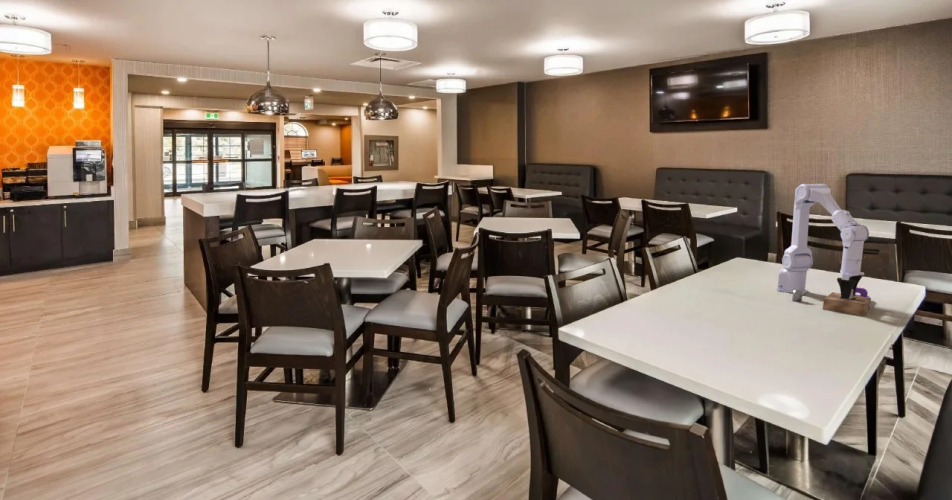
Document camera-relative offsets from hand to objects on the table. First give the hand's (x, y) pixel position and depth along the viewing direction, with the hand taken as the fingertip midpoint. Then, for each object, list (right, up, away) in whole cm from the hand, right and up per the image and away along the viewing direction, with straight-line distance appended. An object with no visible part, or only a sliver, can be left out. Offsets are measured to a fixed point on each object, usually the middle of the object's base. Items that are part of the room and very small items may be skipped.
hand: (847, 296), depth 198 cm
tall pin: (0, -5, +1) cm, 5 cm away
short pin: (-11, -3, +12) cm, 17 cm away
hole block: (0, -5, +1) cm, 5 cm away
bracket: (+10, -4, +10) cm, 14 cm away
